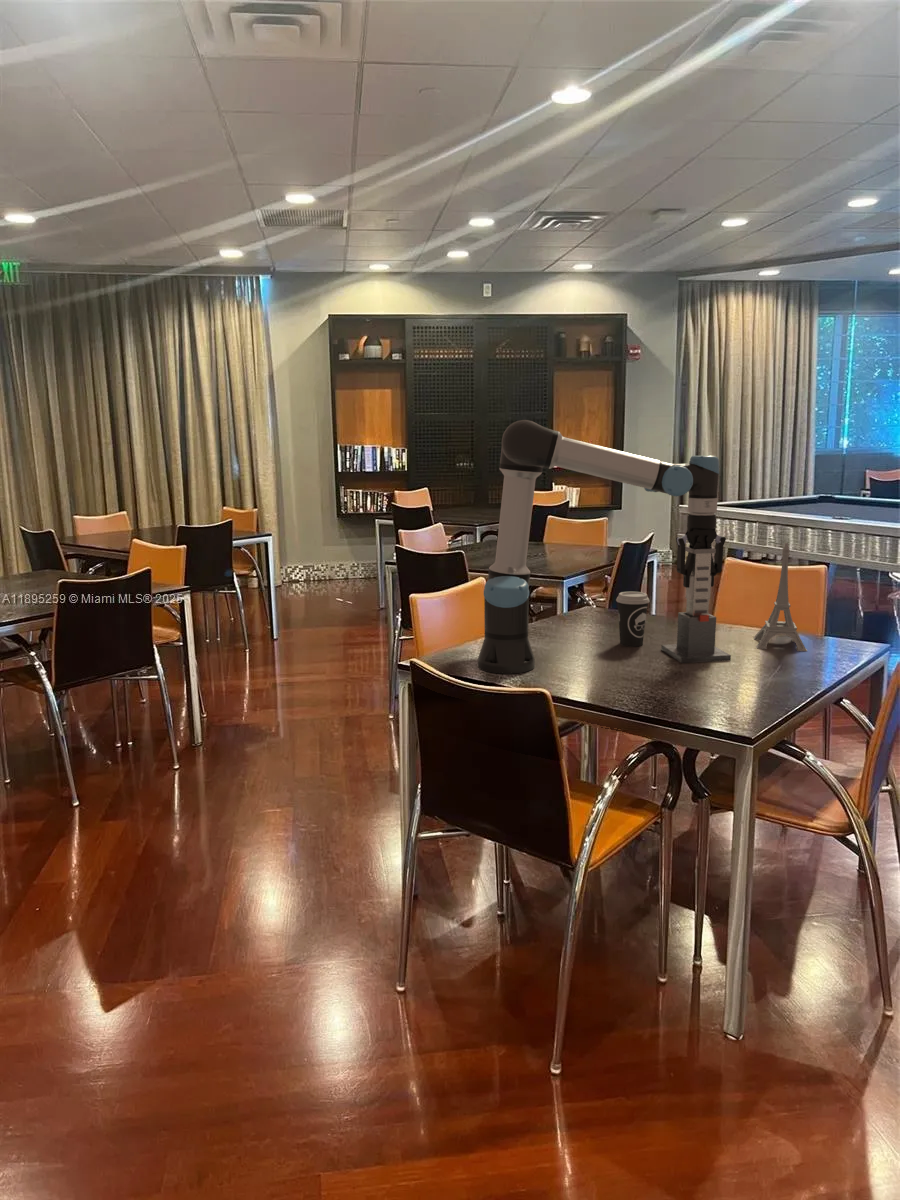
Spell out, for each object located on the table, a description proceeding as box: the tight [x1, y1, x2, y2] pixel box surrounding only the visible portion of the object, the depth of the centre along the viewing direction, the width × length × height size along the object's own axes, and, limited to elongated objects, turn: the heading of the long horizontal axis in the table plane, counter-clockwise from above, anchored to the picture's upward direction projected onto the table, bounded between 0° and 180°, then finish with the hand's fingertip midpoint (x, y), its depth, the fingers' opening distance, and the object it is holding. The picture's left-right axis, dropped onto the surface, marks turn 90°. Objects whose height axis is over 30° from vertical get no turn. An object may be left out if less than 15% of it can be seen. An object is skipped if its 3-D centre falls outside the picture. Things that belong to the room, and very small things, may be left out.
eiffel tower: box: [753, 542, 808, 652], centre depth 235 cm, size 13×13×30 cm
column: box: [685, 545, 716, 618], centre depth 224 cm, size 6×6×27 cm
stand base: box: [660, 611, 732, 664], centre depth 226 cm, size 14×14×12 cm
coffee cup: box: [615, 591, 650, 648], centre depth 239 cm, size 10×10×15 cm
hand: (697, 598), depth 224 cm, fingers closed on column, 4 cm apart
